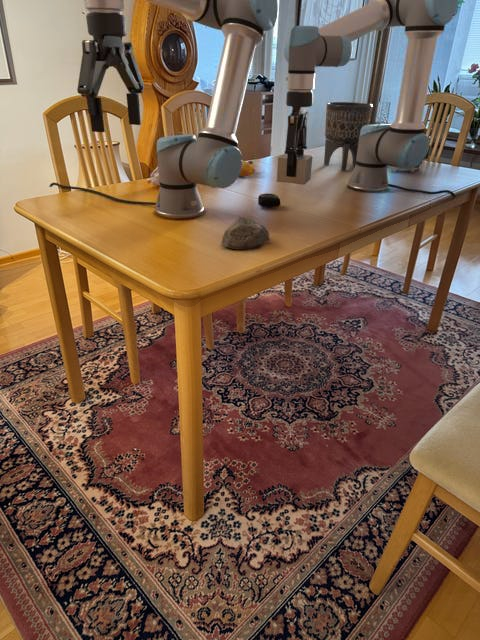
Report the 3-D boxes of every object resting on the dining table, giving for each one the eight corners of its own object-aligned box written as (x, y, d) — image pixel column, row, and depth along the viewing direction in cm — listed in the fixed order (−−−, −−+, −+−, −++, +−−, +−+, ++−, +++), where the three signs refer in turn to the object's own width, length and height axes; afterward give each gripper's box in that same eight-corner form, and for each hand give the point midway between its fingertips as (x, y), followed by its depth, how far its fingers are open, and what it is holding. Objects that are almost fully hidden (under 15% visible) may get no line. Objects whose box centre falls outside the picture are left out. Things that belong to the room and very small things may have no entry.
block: (283, 176, 145) (284, 153, 141) (310, 179, 142) (312, 155, 139) (276, 181, 139) (277, 157, 136) (304, 184, 136) (306, 159, 133)
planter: (313, 167, 208) (319, 103, 195) (331, 160, 222) (338, 101, 209) (353, 173, 199) (362, 107, 185) (369, 166, 213) (379, 104, 199)
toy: (224, 169, 185) (230, 160, 198) (230, 184, 188) (235, 175, 200) (250, 160, 182) (254, 152, 194) (255, 175, 185) (259, 167, 197)
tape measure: (259, 210, 148) (260, 198, 147) (256, 204, 154) (256, 193, 152) (280, 209, 149) (281, 198, 147) (275, 203, 155) (276, 192, 153)
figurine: (184, 183, 177) (182, 149, 170) (157, 191, 166) (154, 155, 160) (168, 180, 181) (166, 147, 174) (141, 188, 170) (138, 152, 163)
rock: (255, 233, 128) (256, 211, 124) (276, 242, 122) (278, 219, 119) (217, 244, 120) (217, 220, 117) (239, 254, 115) (239, 230, 111)
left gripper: (125, 17, 101) (135, 120, 112) (44, 7, 81) (65, 133, 92) (154, 17, 99) (161, 122, 109) (78, 6, 79) (96, 136, 89)
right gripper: (296, 88, 137) (291, 166, 149) (276, 92, 121) (272, 179, 133) (321, 89, 135) (314, 168, 147) (304, 93, 119) (297, 182, 130)
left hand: (117, 128), depth 101 cm, fingers open, 13 cm apart
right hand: (294, 173), depth 140 cm, fingers closed on block, 7 cm apart
